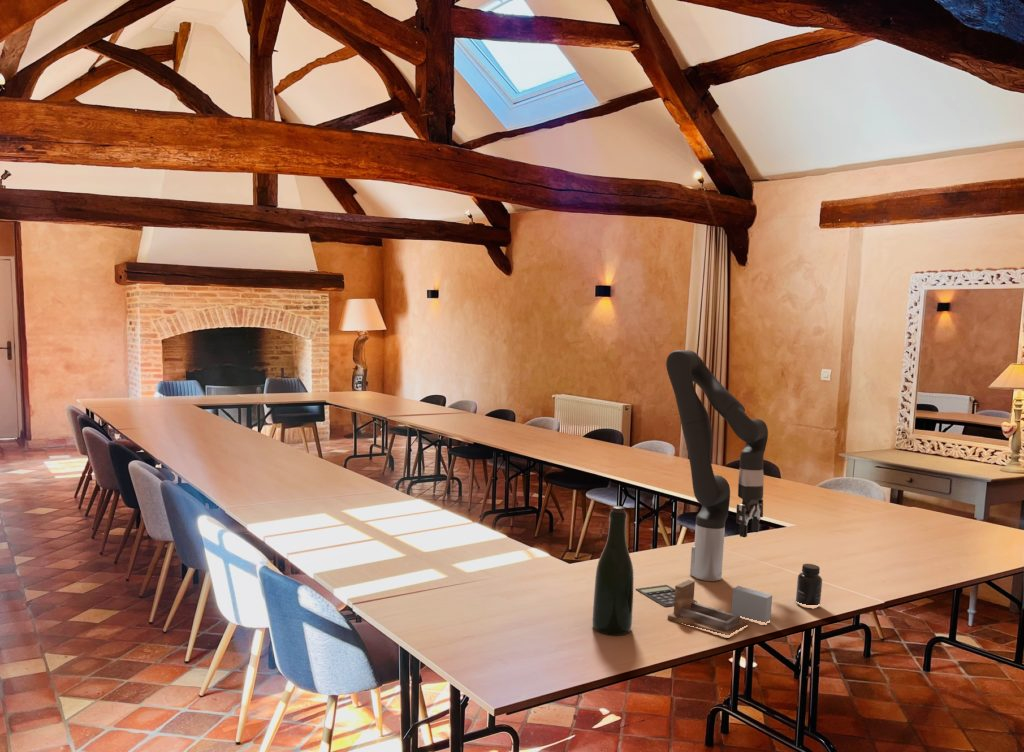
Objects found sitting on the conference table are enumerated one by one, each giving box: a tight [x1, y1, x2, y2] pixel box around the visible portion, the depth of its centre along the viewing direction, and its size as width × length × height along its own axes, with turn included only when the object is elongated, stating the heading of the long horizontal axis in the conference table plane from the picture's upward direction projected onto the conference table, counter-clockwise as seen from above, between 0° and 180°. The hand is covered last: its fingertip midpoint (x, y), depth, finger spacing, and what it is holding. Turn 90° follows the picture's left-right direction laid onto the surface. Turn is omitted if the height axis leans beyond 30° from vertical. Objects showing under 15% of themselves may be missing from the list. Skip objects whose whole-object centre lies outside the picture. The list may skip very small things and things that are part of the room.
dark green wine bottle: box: [591, 505, 635, 636], centre depth 205 cm, size 10×10×33 cm
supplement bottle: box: [795, 563, 823, 605], centre depth 230 cm, size 7×7×12 cm
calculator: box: [635, 584, 697, 608], centre depth 233 cm, size 12×1×15 cm
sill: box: [667, 579, 749, 635], centre depth 213 cm, size 18×12×9 cm, turn 48°
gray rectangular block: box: [730, 585, 773, 623], centre depth 217 cm, size 10×4×8 cm, turn 48°
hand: (749, 534), depth 242 cm, fingers open, 8 cm apart
